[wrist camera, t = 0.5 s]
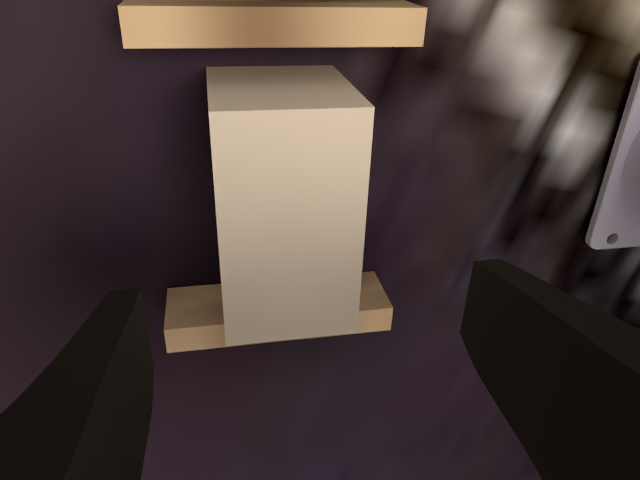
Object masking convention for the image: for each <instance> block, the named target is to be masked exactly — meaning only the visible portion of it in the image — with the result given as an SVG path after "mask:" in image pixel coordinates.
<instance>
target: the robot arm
mask: <svg viewBox="0 0 640 480" xmlns="http://www.w3.org/2000/svg"><path fill="white" fill-rule="evenodd" d="M611 234H612V235H611ZM610 235H611V237H610V238H608V237H609V236H610ZM607 238H608V239H607ZM585 241H586V243H587V244H588V245H589V246H590V247H591V248H593V249H596V250H600V249H612V248H625V247H637V246H640V61H639V63H638V66H637V69H636V73H635V76H634V79H633V83H632V86H631V89H630V93H629V96H628V99H627V102H626V106H625V109H624V112H623V116H622V119H621V122H620V126H619V129H618V132H617V135H616V139H615V142H614V145H613V149H612V152H611V155H610V159H609V162H608V165H607V168H606V172H605V175H604V178H603V182H602V185H601V188H600V191H599V195H598V198H597V201H596V205H595V208H594V211H593V215H592V218H591V221H590V224H589V228H588V231H587V234H586V240H585ZM460 334H461V337H462V339H463V342H464V344H465V346H466V349H467V351H468V354H469V356H470V358H471V360H472V362H473V365H474V367H475V369H476V371H477V373H478V374H479V376H480V378H481V379H482V381H483V383H484V384H485V386H486V388H487V389H488V391H489V393H490V394H491V396H492V397H493V399H494V401H495V402H496V404H497V405H498V407H499V409H500V410H501V412H502V413H503V415H504V417H505V418H506V420H507V421H508V423H509V425H510V426H511V428H512V429H513V431H514V432H515V434H516V436H517V437H518V439H519V440H520V442H521V444H522V445H523V447H524V448H525V450H526V452H527V453H528V455H529V457H530V458H531V460H532V462H533V464H534V465H535V467H536V469H537V471H538V472H539V474H540V476H541V478H542V480H640V329H639V328H636V327H634V326H632V325H630V324H628V323H626V322H623V321H621V320H619V319H617V318H615V317H613V316H611V315H609V314H606V313H604V312H602V311H600V310H598V309H596V308H594V307H592V306H590V305H588V304H587V303H585V302H583V301H581V300H579V299H577V298H575V297H573V296H571V295H569V294H567V293H565V292H564V291H562V290H560V289H558V288H556V287H554V286H552V285H550V284H548V283H547V282H545V281H543V280H541V279H539V278H537V277H535V276H533V275H532V274H530V273H528V272H526V271H524V270H522V269H520V268H518V267H516V266H514V265H512V264H509V263H507V262H505V261H502V260H500V259H495V260H483V261H474V264H473V269H472V274H471V279H470V284H469V289H468V295H467V300H466V305H465V310H464V315H463V320H462V326H461V331H460ZM153 372H154V365H153V359H152V353H151V346H150V340H149V334H148V328H147V322H146V315H145V309H144V303H143V297H142V290H141V289H133V290H120V291H110V292H109V293H108V294H107V295H106V296H105V297H104V298H103V299H102V301H101V302H100V303H99V304H98V306H97V307H96V308H95V310H94V311H93V312H92V314H91V315H90V316H89V317H88V319H87V320H86V321H85V322H84V324H83V325H82V326H81V327H80V329H79V330H78V331H77V332H76V334H75V335H74V336H73V337H72V339H71V340H70V341H69V342H68V343H67V344H66V346H65V347H64V348H63V349H62V350H61V351H60V353H59V354H58V355H57V356H56V357H55V359H54V360H53V361H52V362H51V363H50V364H49V365H48V366H47V367H46V369H45V370H44V371H43V372H42V373H41V374H40V375H39V376H38V377H37V378H36V379H35V380H34V381H33V382H32V383H31V384H30V385H29V386H28V388H27V389H26V390H25V391H24V392H23V393H22V394H21V395H20V396H19V397H18V398H17V399H16V400H15V401H14V402H13V403H12V404H11V405H10V406H9V407H8V408H7V409H5V410H4V411H3V412H2V413H1V414H0V480H140V479H141V473H142V467H143V461H144V455H145V450H146V444H147V438H148V431H149V425H150V419H151V413H152V398H153Z"/></svg>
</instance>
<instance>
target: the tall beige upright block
mask: <svg viewBox="0 0 640 480" xmlns="http://www.w3.org/2000/svg"><path fill="white" fill-rule="evenodd" d="M206 77H207V95H208V112H209V126H210V139H211V153H212V166H213V180H214V193H215V207H216V220H217V234H218V247H219V261H220V275H221V288H222V302H223V315H224V329H225V342H226V346H233V345H243V344H253V343H262V342H272V341H282V340H291V339H301V338H310V337H320V336H330V335H339V334H349V333H357V330H358V317H359V304H360V291H361V278H362V265H363V252H364V239H365V226H366V213H367V200H368V187H369V174H370V161H371V148H372V135H373V122H374V109H375V107H374V106H373V105H372V104H371V103H370V102H369V101H368V100H367V99H366V98H365V97H364V96H363V95H362V94H361V93H360V92H359V91H358V90H357V89H356V88H355V87H354V86H353V85H352V84H351V83H350V82H349V81H348V80H347V79H346V78H345V77H344V76H343V75H342V74H341V73H340V72H339V71H338V70H337V69H336V68H335V67H334V66H333V65H315V66H235V67H206Z"/></svg>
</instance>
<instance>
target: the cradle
mask: <svg viewBox="0 0 640 480" xmlns="http://www.w3.org/2000/svg"><path fill="white" fill-rule="evenodd" d="M118 13H119V20H120V27H121V34H122V41H123V48H124V49H136V48H291V47H423V42H424V33H425V24H426V16H427V8H426V7H423V6H420V5H417V4H414V3H411V2H408V1H405V0H123V1H122V2H121V3H120V4H119V5H118ZM392 314H393V307H392V305H391V303H390V301H389V299H388V297H387V295H386V293H385V291H384V289H383V287H382V285H381V283H380V282H379V280H378V278H377V276H376V274H375V272H374V271H368V272H362V278H361V291H360V304H359V317H358V330H357V333H366V332H375V331H385V330H391V322H392ZM349 334H356V333H349ZM164 335H165V342H166V349H167V353H173V352H183V351H192V350H202V349H212V348H221V347H231V346H226V342H225V329H224V315H223V302H222V288H221V284H212V285H200V286H188V287H176V288H167V299H166V311H165V322H164ZM339 335H347V334H339ZM330 336H337V335H330ZM320 337H327V336H320ZM310 338H318V337H310ZM301 339H308V338H301ZM291 340H298V339H291ZM282 341H289V340H282ZM272 342H279V341H272ZM262 343H270V342H262ZM253 344H260V343H253ZM243 345H250V344H243ZM233 346H241V345H233Z"/></svg>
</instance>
